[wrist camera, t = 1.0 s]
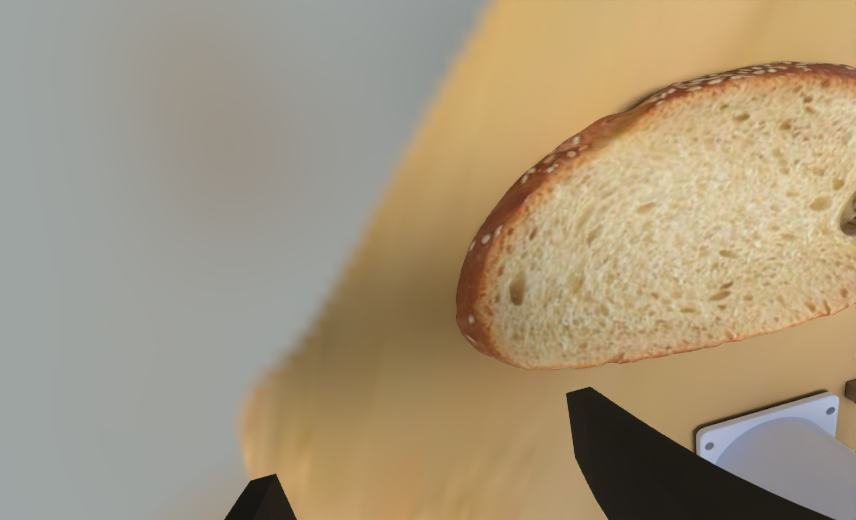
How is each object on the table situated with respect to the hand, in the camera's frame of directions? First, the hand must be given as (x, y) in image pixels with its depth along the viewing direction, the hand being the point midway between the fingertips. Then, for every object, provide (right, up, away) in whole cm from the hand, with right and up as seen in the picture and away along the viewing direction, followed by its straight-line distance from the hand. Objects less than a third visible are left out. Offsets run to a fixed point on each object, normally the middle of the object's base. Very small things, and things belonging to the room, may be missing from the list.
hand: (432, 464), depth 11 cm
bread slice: (+12, +6, +10) cm, 17 cm away
